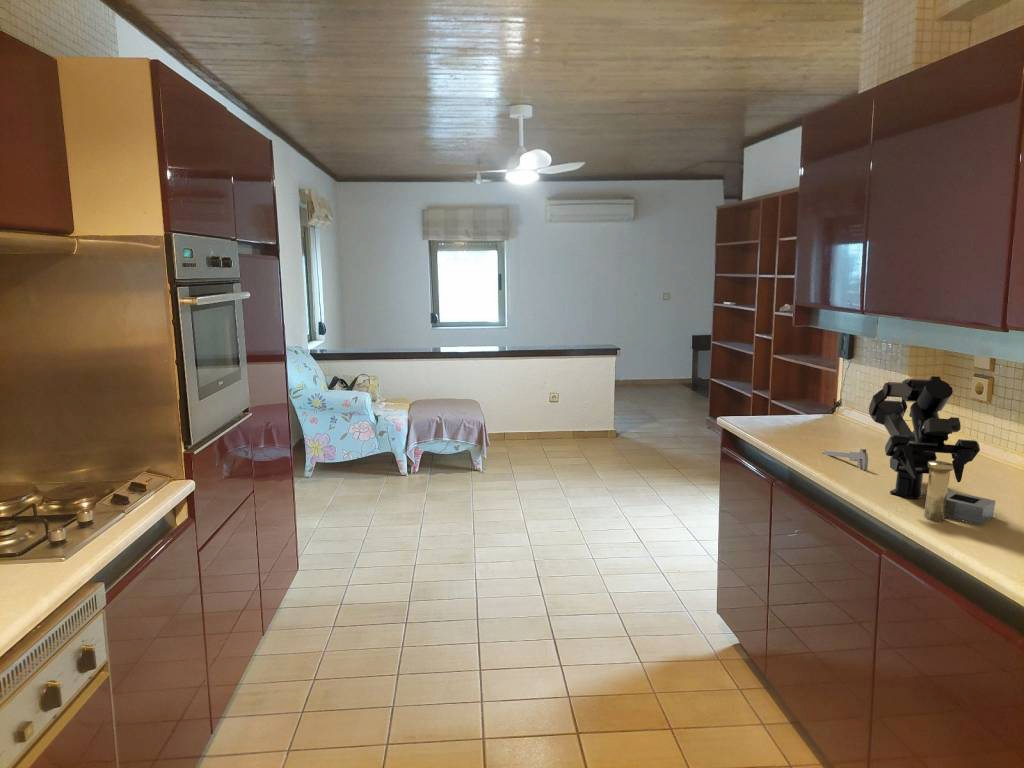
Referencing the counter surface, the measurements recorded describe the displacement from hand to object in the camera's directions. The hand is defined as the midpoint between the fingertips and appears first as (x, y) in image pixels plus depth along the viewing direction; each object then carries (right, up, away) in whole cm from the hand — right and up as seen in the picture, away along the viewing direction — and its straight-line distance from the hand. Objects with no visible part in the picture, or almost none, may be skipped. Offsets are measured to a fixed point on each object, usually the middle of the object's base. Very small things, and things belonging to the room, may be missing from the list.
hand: (937, 479), depth 165 cm
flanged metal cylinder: (0, -9, +1) cm, 9 cm away
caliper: (+2, -2, +50) cm, 50 cm away
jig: (+8, -9, +3) cm, 12 cm away
